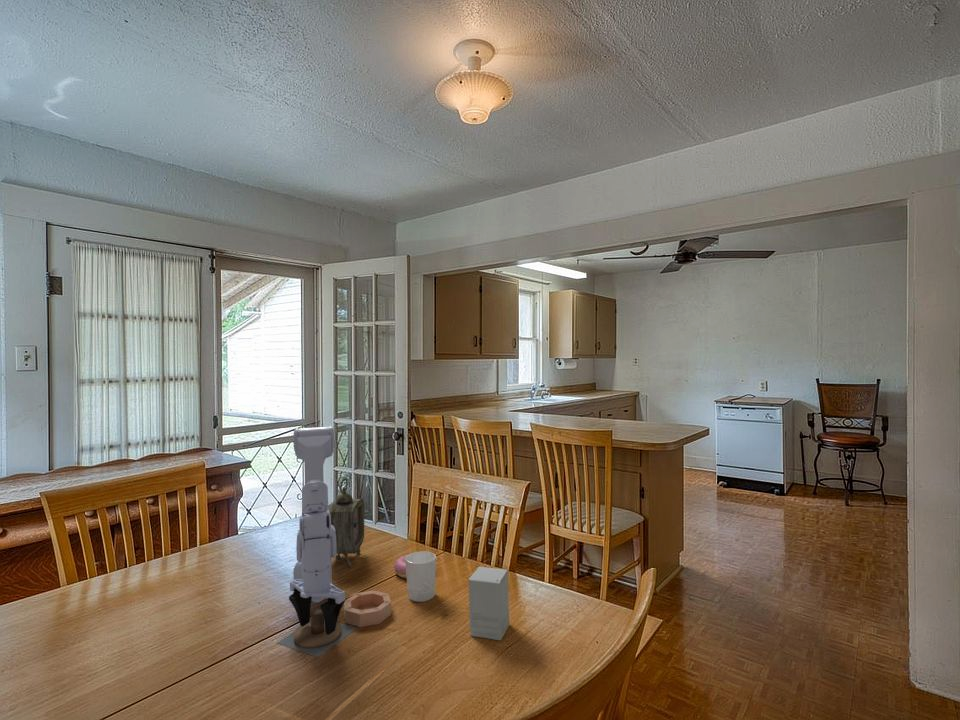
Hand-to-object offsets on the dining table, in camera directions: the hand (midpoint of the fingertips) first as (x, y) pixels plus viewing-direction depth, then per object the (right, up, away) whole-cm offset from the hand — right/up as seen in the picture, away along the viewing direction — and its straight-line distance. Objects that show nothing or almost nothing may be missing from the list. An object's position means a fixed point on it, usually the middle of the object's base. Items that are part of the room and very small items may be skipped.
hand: (317, 628), depth 111 cm
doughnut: (+17, -2, +33) cm, 37 cm away
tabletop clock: (-5, -2, +42) cm, 43 cm away
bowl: (+9, -2, +9) cm, 13 cm away
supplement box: (+38, -2, +2) cm, 38 cm away
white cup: (+21, -2, +19) cm, 28 cm away
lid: (0, -2, 0) cm, 2 cm away
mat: (0, -2, 0) cm, 2 cm away
